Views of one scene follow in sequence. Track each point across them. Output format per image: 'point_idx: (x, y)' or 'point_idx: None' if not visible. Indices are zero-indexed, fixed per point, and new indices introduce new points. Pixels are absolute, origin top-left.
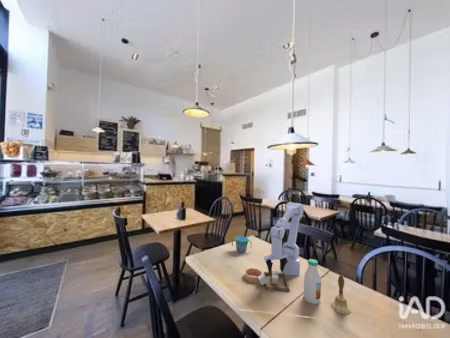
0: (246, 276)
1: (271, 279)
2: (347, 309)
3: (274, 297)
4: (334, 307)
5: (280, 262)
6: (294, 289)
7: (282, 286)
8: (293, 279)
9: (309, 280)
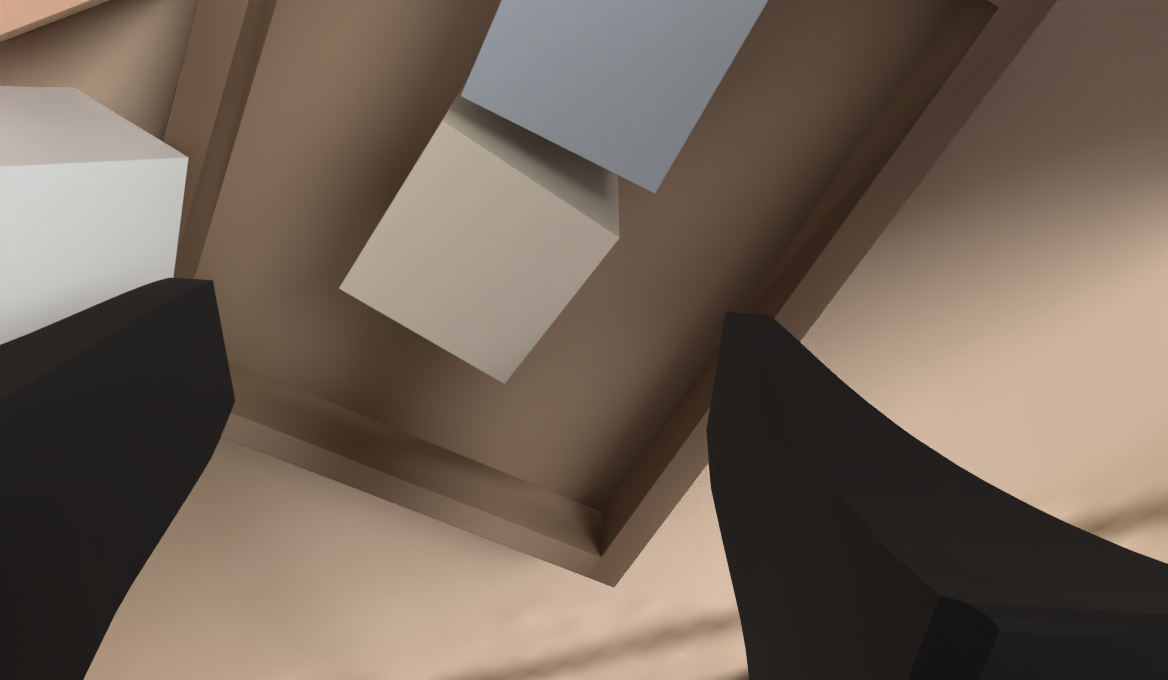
0: None
1: (478, 24)
2: None
3: (256, 540)
4: None
5: (812, 515)
6: None
7: (585, 380)
8: (1136, 176)
9: None
